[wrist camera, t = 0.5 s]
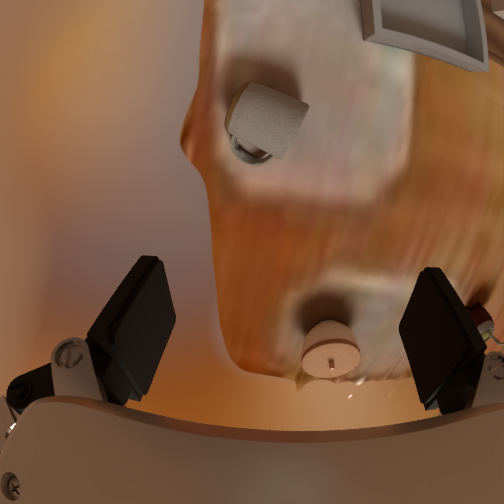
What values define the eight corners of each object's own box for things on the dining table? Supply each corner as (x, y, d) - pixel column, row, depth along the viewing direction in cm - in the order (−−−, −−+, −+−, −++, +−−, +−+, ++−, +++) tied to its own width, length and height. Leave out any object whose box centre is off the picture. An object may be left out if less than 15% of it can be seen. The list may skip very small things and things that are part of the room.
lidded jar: (351, 345, 54) (357, 382, 46) (301, 349, 55) (301, 386, 47) (357, 309, 48) (366, 347, 40) (300, 313, 50) (301, 353, 42)
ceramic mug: (249, 79, 31) (240, 76, 24) (308, 104, 32) (313, 106, 25) (220, 149, 36) (205, 163, 30) (274, 172, 37) (272, 191, 31)
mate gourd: (465, 326, 49) (489, 375, 36) (451, 316, 47) (477, 368, 35) (487, 304, 45) (514, 352, 32) (474, 292, 44) (506, 343, 31)
